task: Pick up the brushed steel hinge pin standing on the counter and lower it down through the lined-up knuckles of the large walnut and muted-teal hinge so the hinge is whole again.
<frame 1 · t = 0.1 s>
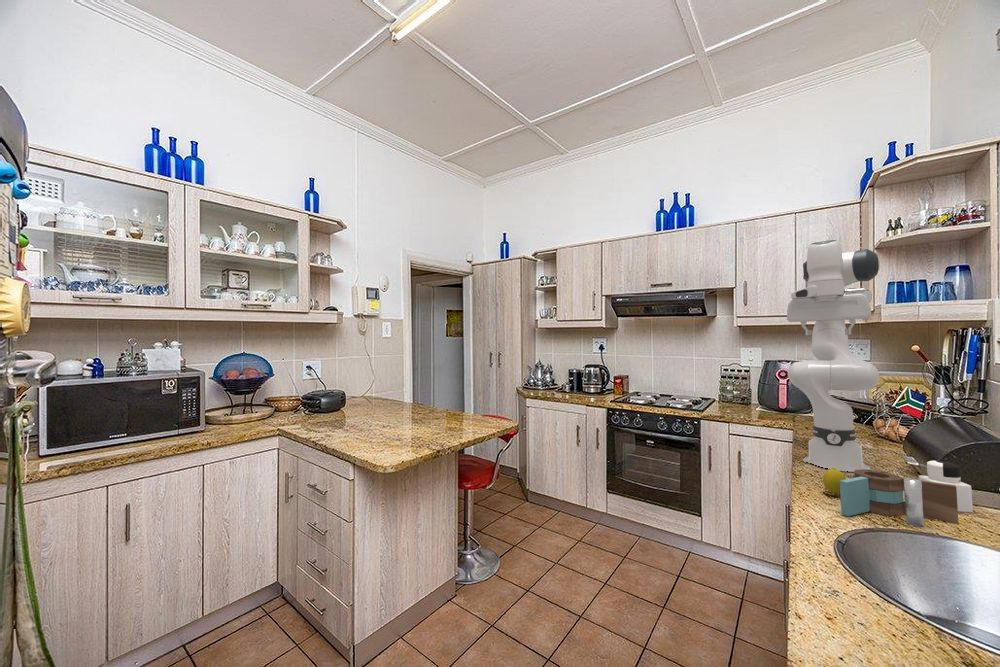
hand: (827, 335, 122), 48 cm above the worktop, tool pointing down, fingers open, 8 cm apart
hinge swing leaf: (866, 493, 105), point 5 cm above the worktop, hinge at 0.0°
hinge fixed leaf: (878, 508, 106), on the worktop
steel pin: (915, 524, 96), on the worktop
lemon: (835, 496, 116), on the worktop
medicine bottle: (945, 507, 107), on the worktop
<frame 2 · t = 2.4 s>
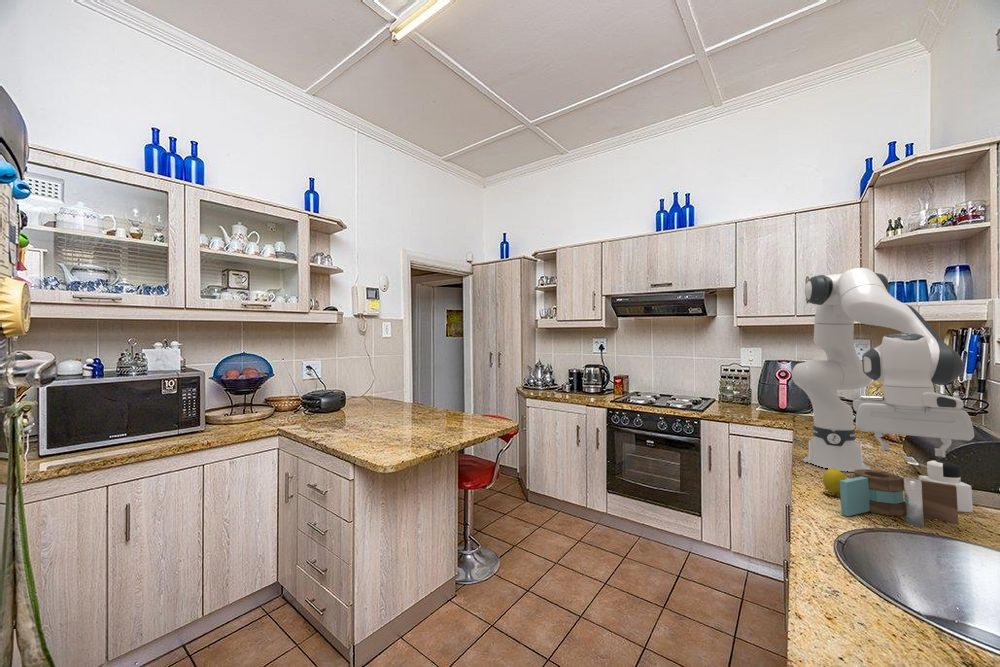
hand: (911, 453, 97), 18 cm above the worktop, tool pointing down, fingers open, 8 cm apart
nothing on the worktop moved.
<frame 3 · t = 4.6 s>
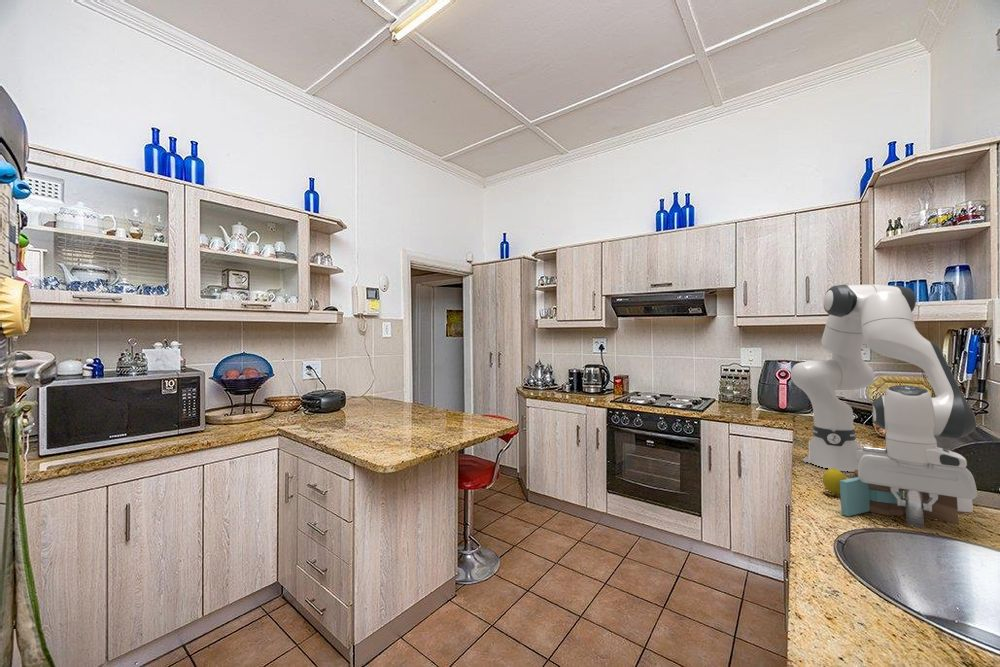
hand: (914, 508, 96), 4 cm above the worktop, tool pointing down, fingers closed on steel pin, 3 cm apart
steel pin: (915, 524, 96), on the worktop, touching gripper
everything else where it was.
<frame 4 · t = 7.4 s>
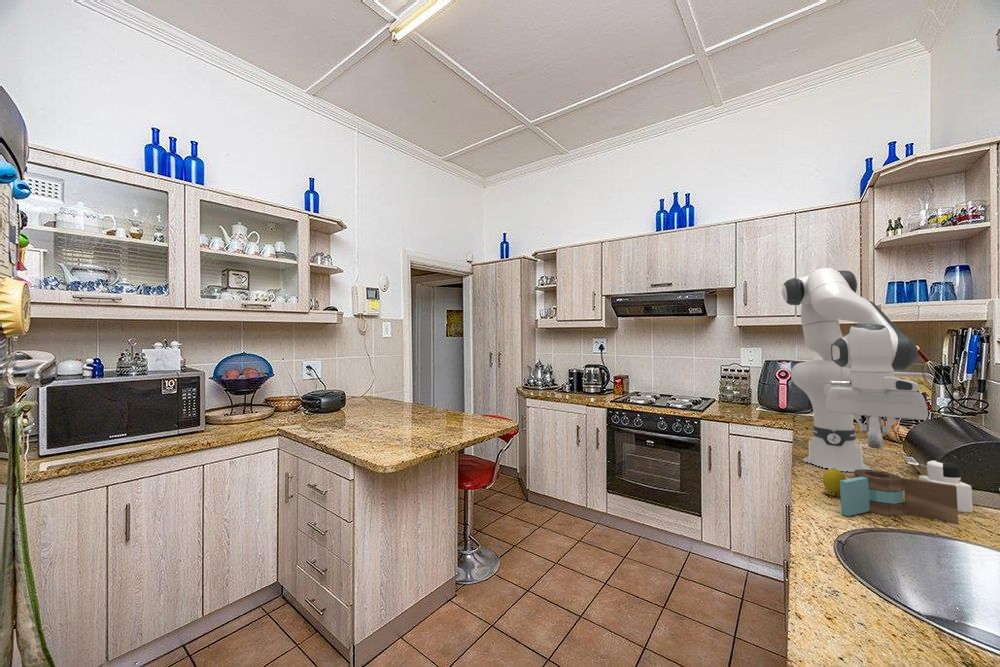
hand: (874, 432, 107), 21 cm above the worktop, tool pointing down, fingers closed on steel pin, 3 cm apart
steel pin: (875, 447, 107), point 16 cm above the worktop, touching gripper
everything else where it was.
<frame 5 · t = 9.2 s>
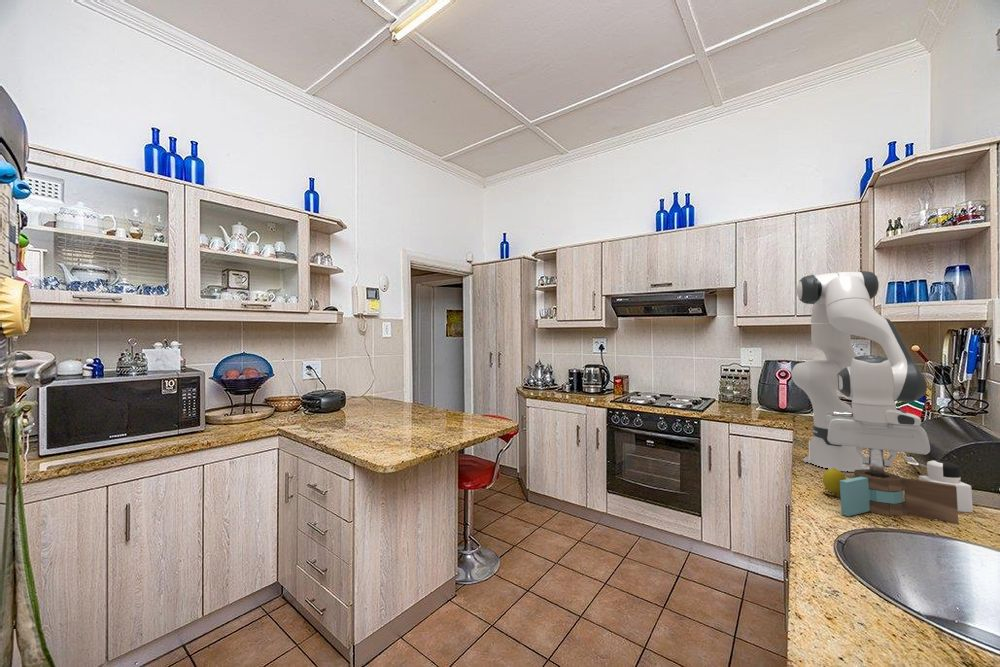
hand: (876, 465, 107), 12 cm above the worktop, tool pointing down, fingers closed on steel pin, 3 cm apart
steel pin: (877, 480, 106), point 8 cm above the worktop, touching gripper
everything else where it was.
when the fingers open (11 cm above the worktop, at t = 10.5 s): steel pin drops 6 cm, resting in hinge fixed leaf.
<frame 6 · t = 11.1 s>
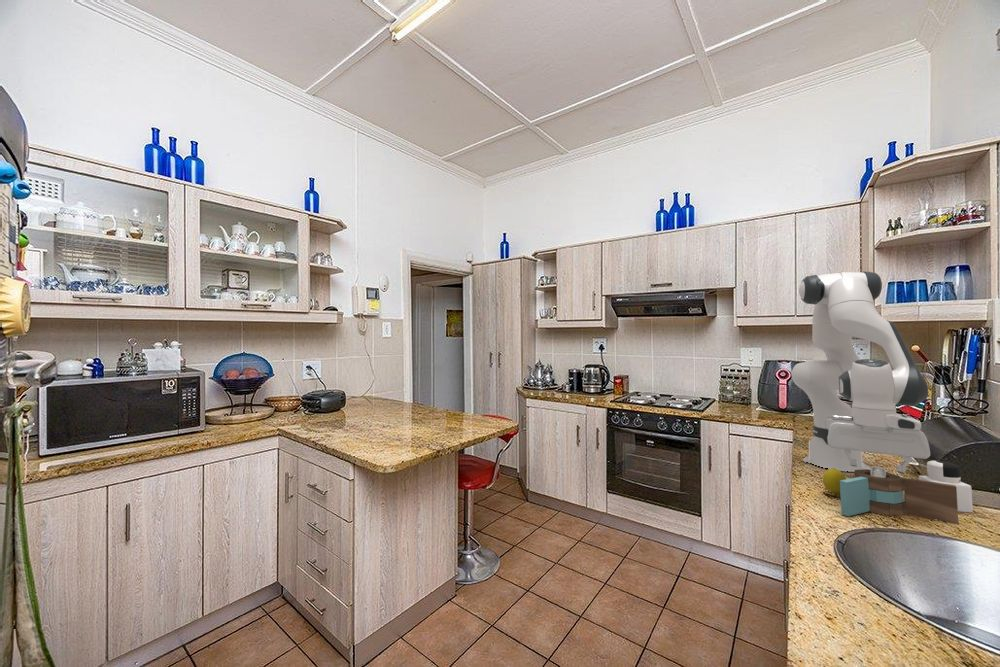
hand: (876, 469, 107), 11 cm above the worktop, tool pointing down, fingers open, 8 cm apart
steel pin: (878, 508, 106), resting in hinge fixed leaf
everything else where it was.
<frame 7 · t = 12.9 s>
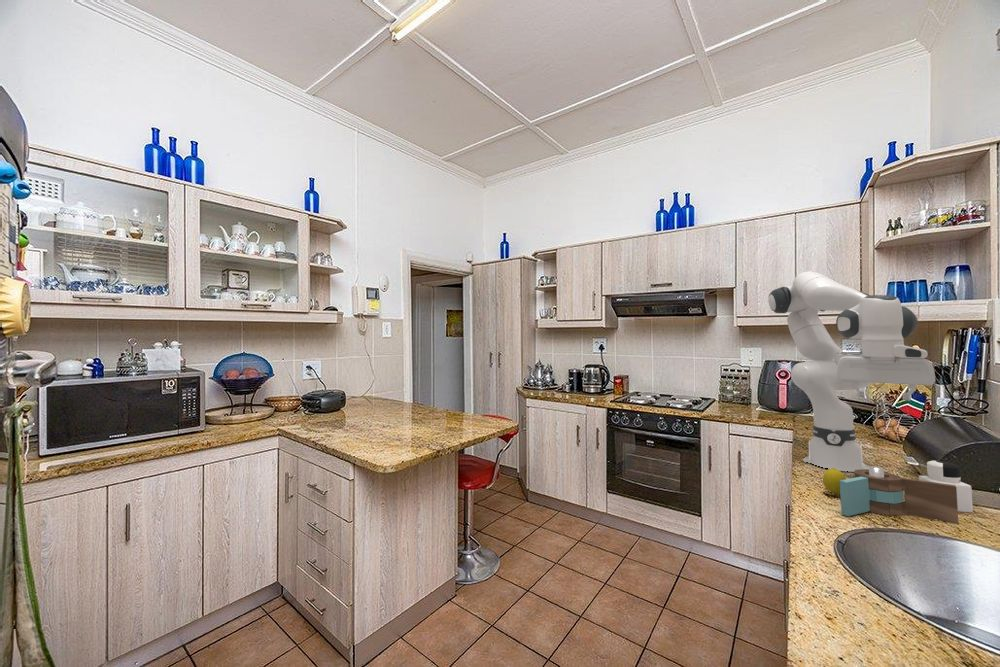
hand: (883, 398, 112), 29 cm above the worktop, tool pointing down, fingers open, 8 cm apart
nothing on the worktop moved.
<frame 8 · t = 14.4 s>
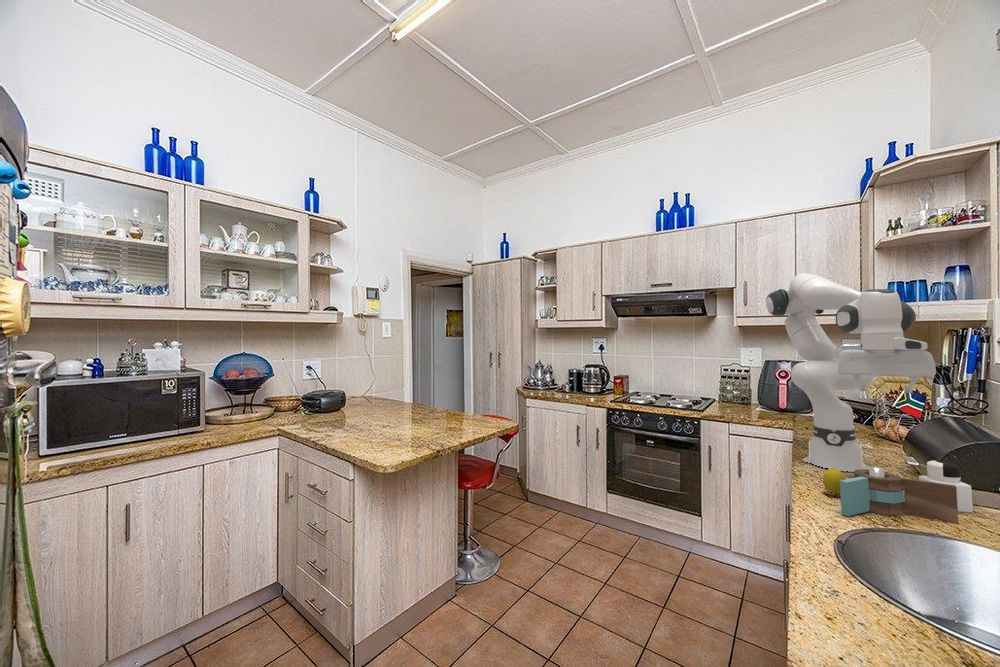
hand: (884, 391, 112), 31 cm above the worktop, tool pointing down, fingers open, 8 cm apart
nothing on the worktop moved.
at the end: steel pin 0.0 cm off-centre on the hinge fixed leaf, point 0.0 cm above the hinge fixed leaf's base; steel pin tilted 1°; the gripper is holding nothing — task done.
